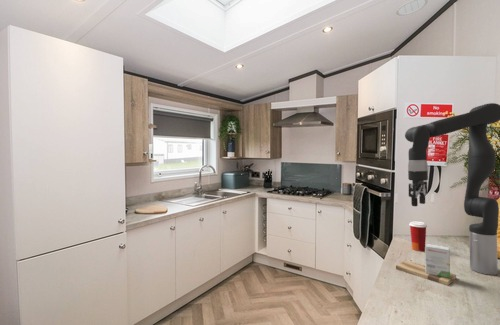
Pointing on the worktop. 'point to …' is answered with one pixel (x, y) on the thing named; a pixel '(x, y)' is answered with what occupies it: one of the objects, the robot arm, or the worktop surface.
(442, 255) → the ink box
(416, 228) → the coffee cup
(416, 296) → the worktop surface
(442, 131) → the robot arm
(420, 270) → the board
